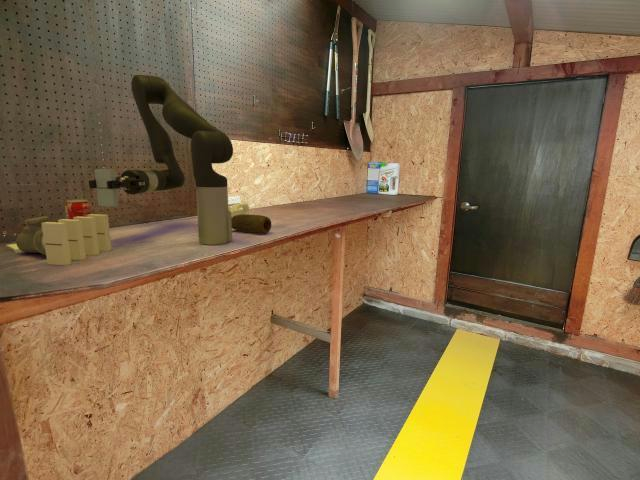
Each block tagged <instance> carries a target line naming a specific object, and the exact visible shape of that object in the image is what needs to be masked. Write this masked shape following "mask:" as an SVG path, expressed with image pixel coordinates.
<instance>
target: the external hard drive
mask: <svg viewBox="0 0 640 480" xmlns="http://www.w3.org/2000/svg"><path fill="white" fill-rule="evenodd" d="M5 248H6V249H7V250H9V251H12V252H13V253H14V254H16V253H24V252H23V251H21V250H20V249H19V248H18V247H17V244H16V243H12V244H5Z"/></svg>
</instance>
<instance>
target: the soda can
mask: <svg viewBox="0 0 640 480" xmlns="http://www.w3.org/2000/svg"><path fill="white" fill-rule="evenodd" d="M64 211H65V212H64V213H65V214H64V215H65V219H73V217H78V216H79V217H87V215H89V214H93V210H92V205H91V203H90V202H89V199H68V200H66V203H65V206H64Z"/></svg>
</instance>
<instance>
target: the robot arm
mask: <svg viewBox="0 0 640 480" xmlns="http://www.w3.org/2000/svg"><path fill="white" fill-rule="evenodd" d="M130 87H131V93H132V96H133V99H134V101H135V104H136V106H137V107H136V108H137V110H138V113H139V115H140V118H141V120H142V123H143V125H144V128H145V130H146V134H147V137H148V139H149V140H148V141H149V143H150V148H151V152H152V156H153V160H154V162H155V163H156V164H162V165H166V167H167V168H168V169H163V170H158V169H142V168H141V169H140V168H139V169H127V170H124V171H122V173H121V174H120V175H115V176H116V180H113V181H107V188H108V189H117V190H122V191H124V192H125V194H128V195H140V194H146V193H147V194H148V193H151V192H156V191H167V190H172V189H178V188H181V187H183V186H184V184H185V180H186V177H185V174H184V172H183V170H182V168H181V166H180V164H179V162H178V160H177V158H176V156H175V152H174V148H173V143H172V139H171V137H170V134H169V133H168V132H167V130H166V129H165V128H164V127H163V125H162V124H161V123H160V122H159V121H158V119H157V117H156V116H155V115H154V113H153V112H152V109H151V108H150V105H161V106H162V108H161V114H162V117H163V120H164V121H165V123H166V124H167V125H168V126H170V128H171V129H172V130H174V131H175V132H176V133H178V134H180V135H182V136H184V137H186V138H188V139H190V153H191V163H192V172H193V178H194V181H195V190H196V191H195V193H196V212H197V229H198V231H197V232H198V233H197V235H198V243H199V244H202V245H209V246H210V245H211V246H212V245H223V244H227V243H230V242H233V229H232V221H231V211H228V206H229V191H228V190H229V189H228V186H229V185H228V178H227V176H225V175H222V174H220V173H218V172H216V171H215V169H214V167H213V164H225V163H228V162H230V161H231V159H232V157H233V155H234V147H233V143H232V141H231V139H230V137H228V135H227V134H226V133H224V132H223V131H222V130H220V129H219V128H217V127H215V126H214V125H213V124H211V123H210V122H208V120H206V119H205V118H204V117H203V116H201V115H200V114H199V113H198V112H197V111H196V110H195V109H194V108H193V107H192V106H190V104H188V103H187V102H186V101H185V100H183V99H182V98H181V97H180V96H179V94H177V93H176V91H174V89H172V88H173V87H171V86H170V85H169V83H168V82H167V81H166V80H165V78H162V77H161V76H156V75H148V74H146V75H145V74H135V75H133V77H132V79H131V85H130ZM88 187H89V189H97V185H96V179H95V178H94V179H93V180H91V179H90V180H88Z"/></svg>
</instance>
